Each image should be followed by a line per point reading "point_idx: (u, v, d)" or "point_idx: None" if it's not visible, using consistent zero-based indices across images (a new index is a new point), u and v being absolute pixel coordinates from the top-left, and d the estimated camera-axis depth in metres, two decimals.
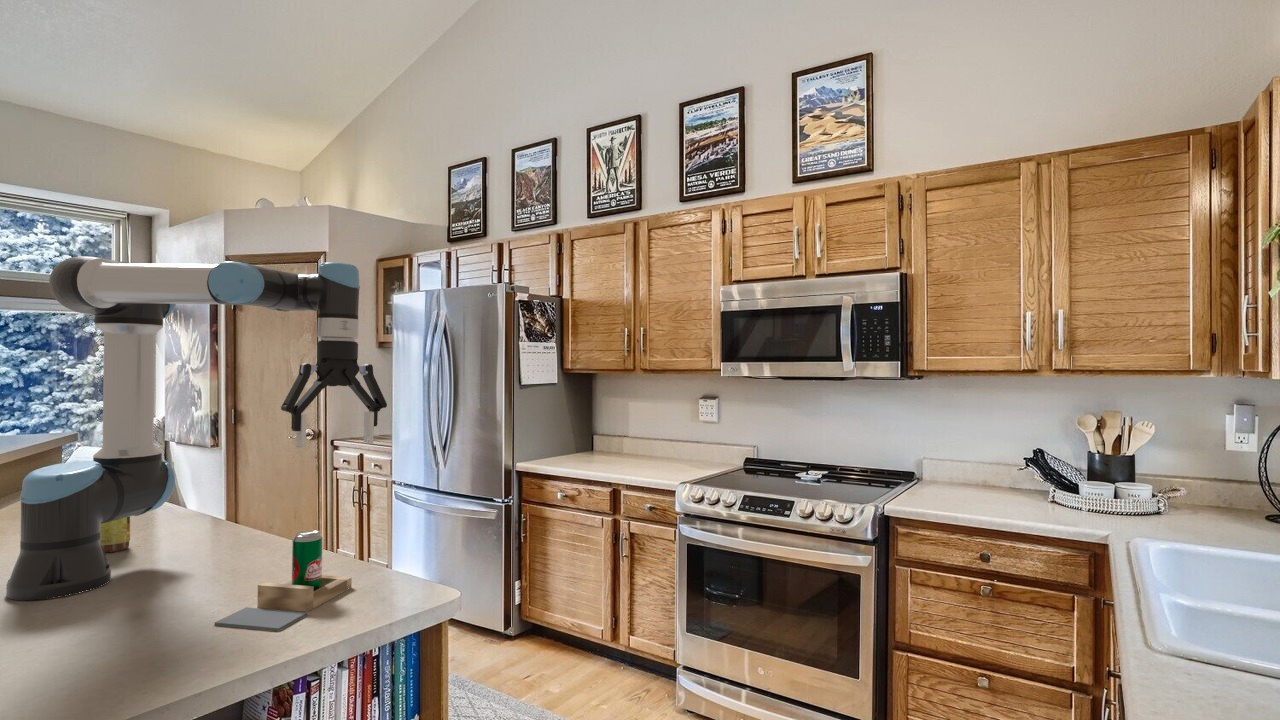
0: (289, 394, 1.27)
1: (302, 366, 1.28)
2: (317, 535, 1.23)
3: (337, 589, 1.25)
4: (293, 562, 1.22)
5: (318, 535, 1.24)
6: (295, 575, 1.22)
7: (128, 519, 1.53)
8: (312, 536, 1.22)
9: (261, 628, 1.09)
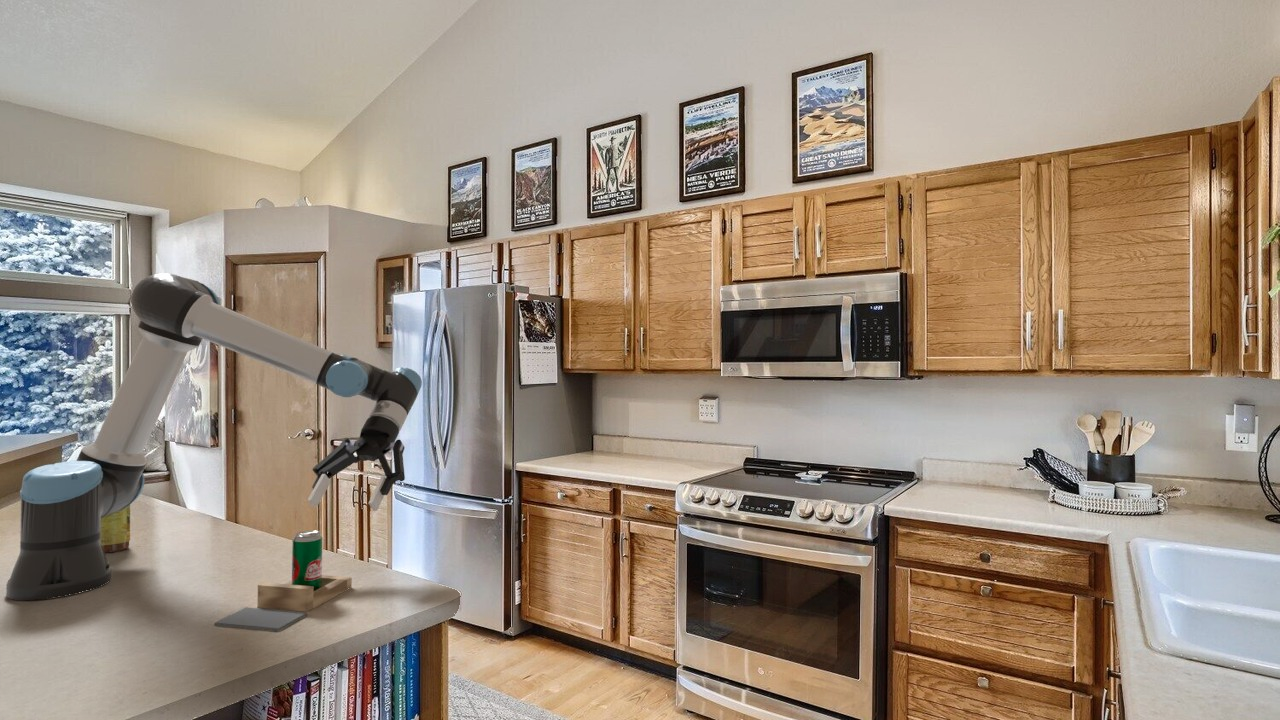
0: None
1: None
2: (317, 535, 1.23)
3: (337, 589, 1.25)
4: (293, 562, 1.22)
5: (318, 535, 1.24)
6: (295, 575, 1.22)
7: (128, 519, 1.53)
8: (312, 536, 1.22)
9: (261, 628, 1.09)
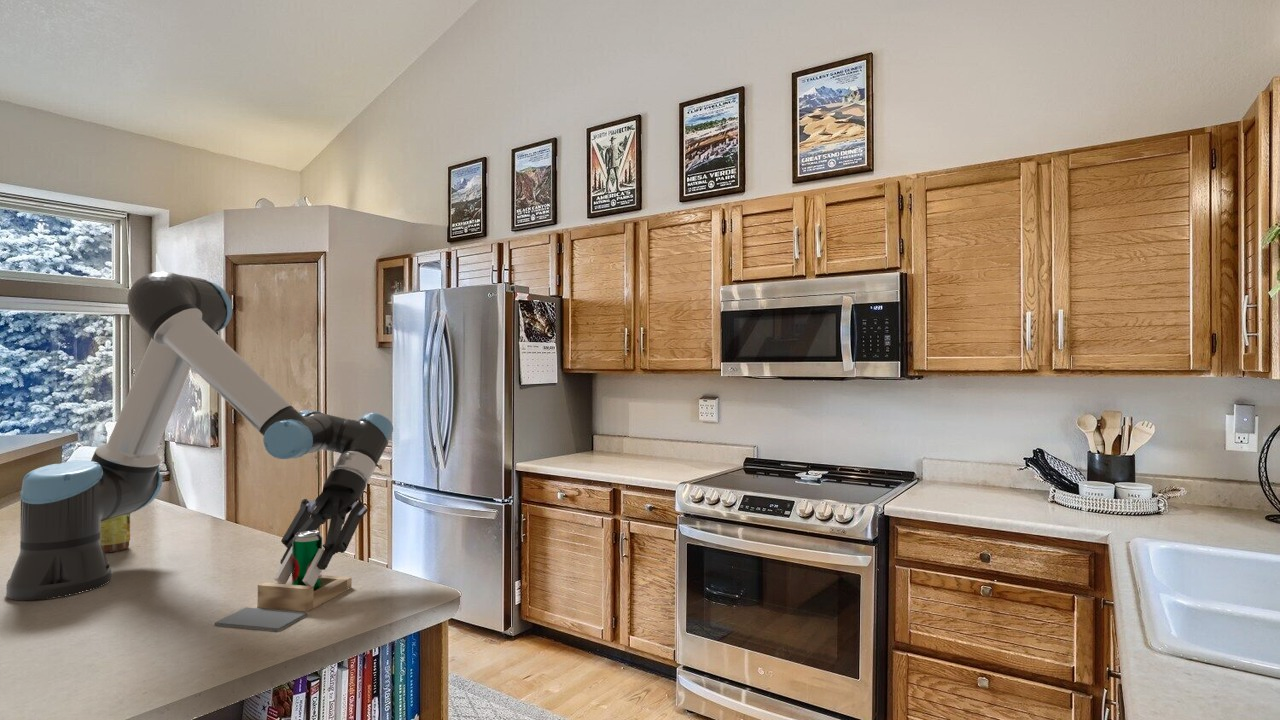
0: None
1: None
2: (317, 535, 1.23)
3: (337, 589, 1.25)
4: (293, 562, 1.22)
5: (318, 535, 1.24)
6: (295, 575, 1.22)
7: (128, 519, 1.53)
8: (312, 536, 1.22)
9: (261, 628, 1.09)
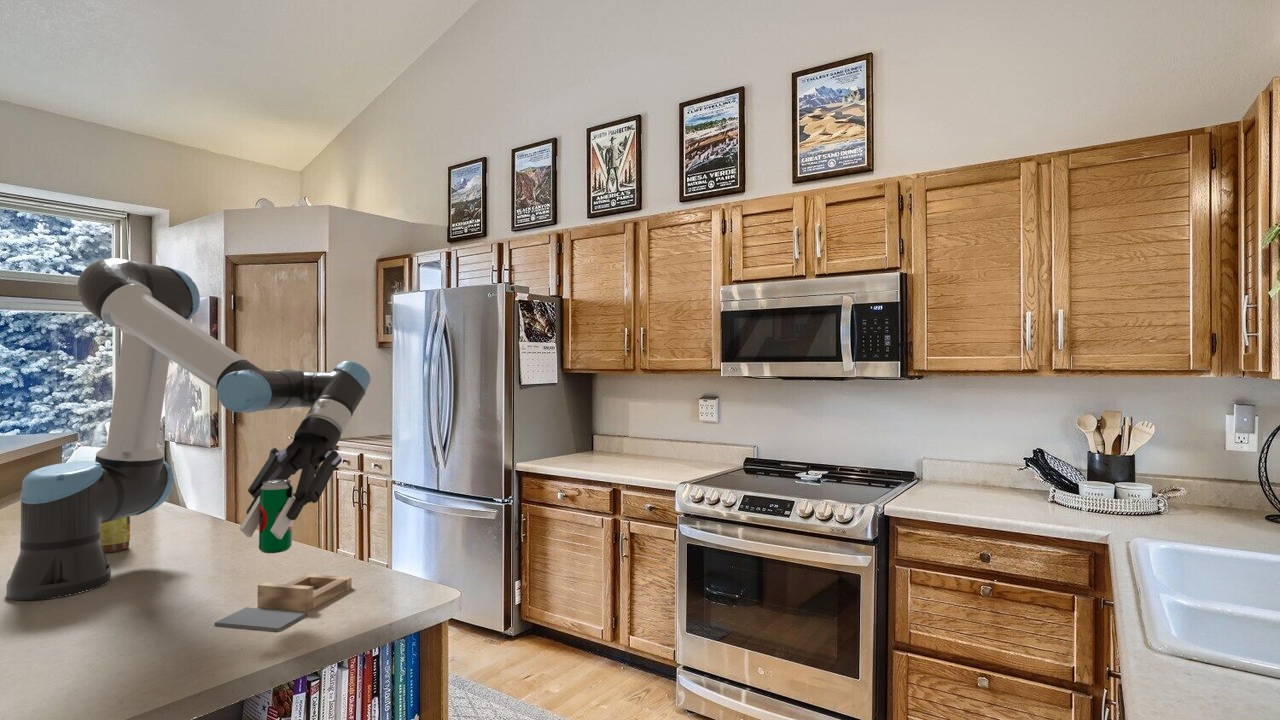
0: None
1: None
2: (287, 483, 1.15)
3: (337, 589, 1.25)
4: (261, 512, 1.13)
5: (288, 483, 1.15)
6: (262, 525, 1.13)
7: (128, 519, 1.53)
8: (281, 484, 1.14)
9: (261, 628, 1.09)
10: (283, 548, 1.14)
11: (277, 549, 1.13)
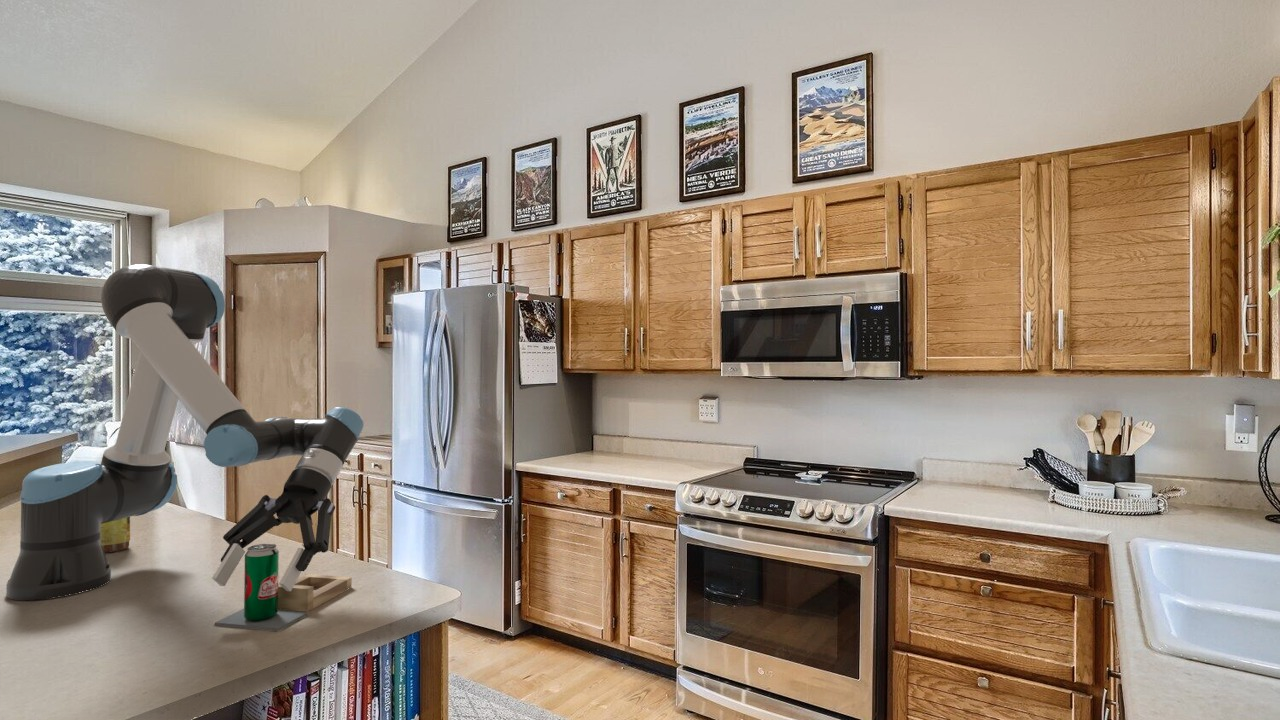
0: None
1: None
2: (272, 549, 1.12)
3: (337, 589, 1.25)
4: (245, 579, 1.11)
5: (273, 549, 1.12)
6: (247, 593, 1.10)
7: (128, 519, 1.53)
8: (266, 550, 1.11)
9: (261, 628, 1.09)
10: (268, 615, 1.11)
11: (262, 617, 1.11)
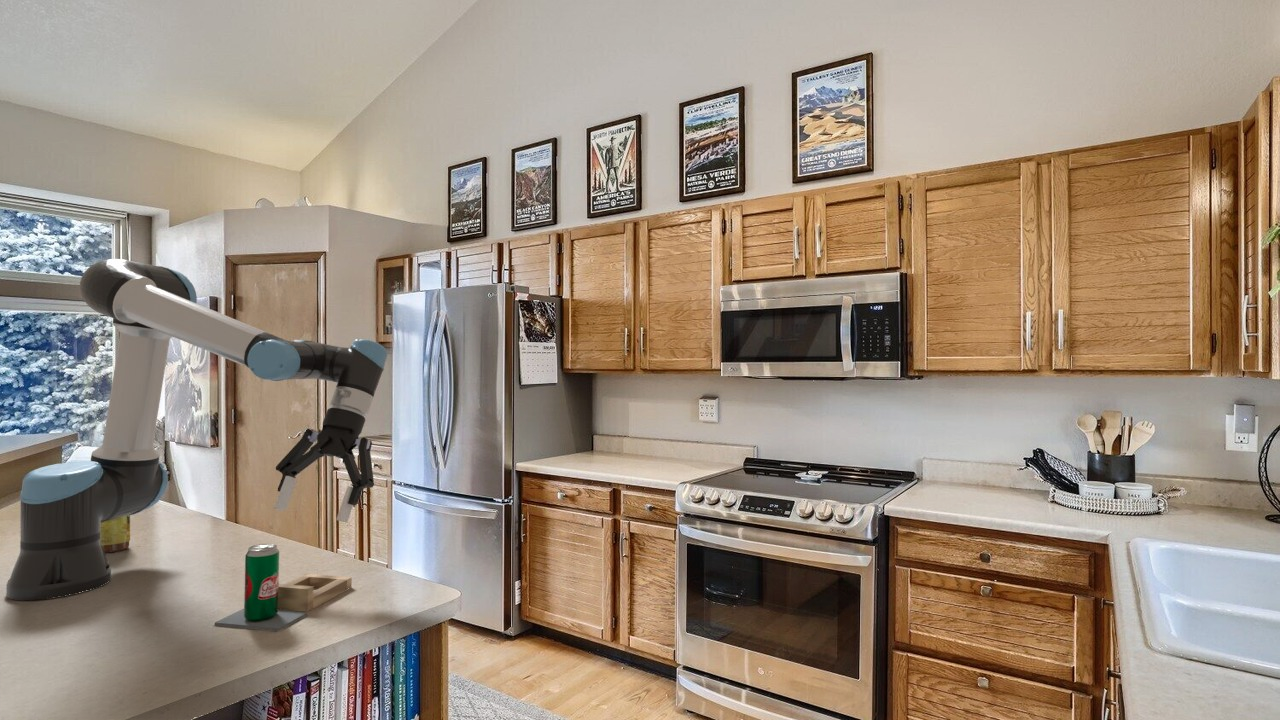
0: None
1: None
2: (273, 549, 1.12)
3: (337, 589, 1.25)
4: (246, 579, 1.11)
5: (274, 549, 1.12)
6: (247, 593, 1.10)
7: (128, 519, 1.53)
8: (267, 550, 1.11)
9: (261, 628, 1.09)
10: (268, 616, 1.11)
11: (262, 617, 1.11)
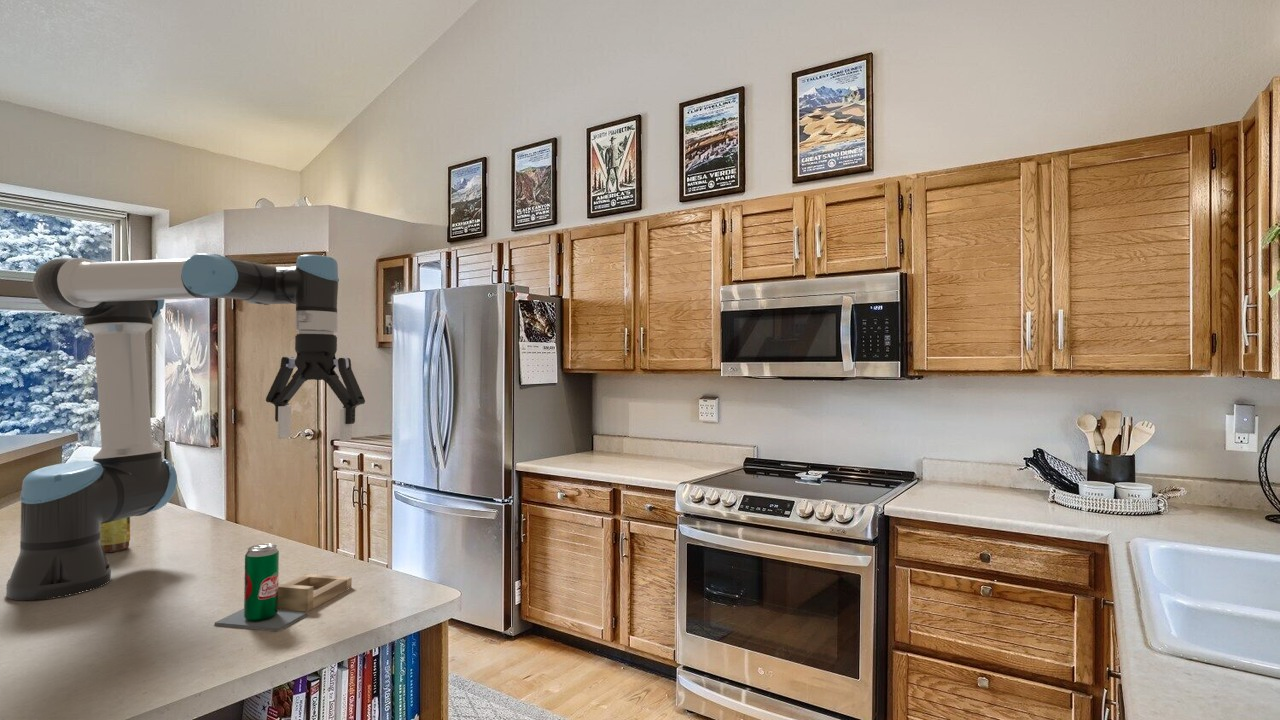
0: None
1: None
2: (272, 549, 1.12)
3: (337, 589, 1.25)
4: (245, 579, 1.11)
5: (274, 549, 1.12)
6: (247, 593, 1.10)
7: (128, 519, 1.53)
8: (266, 550, 1.11)
9: (261, 628, 1.09)
10: (268, 616, 1.11)
11: (262, 617, 1.11)
